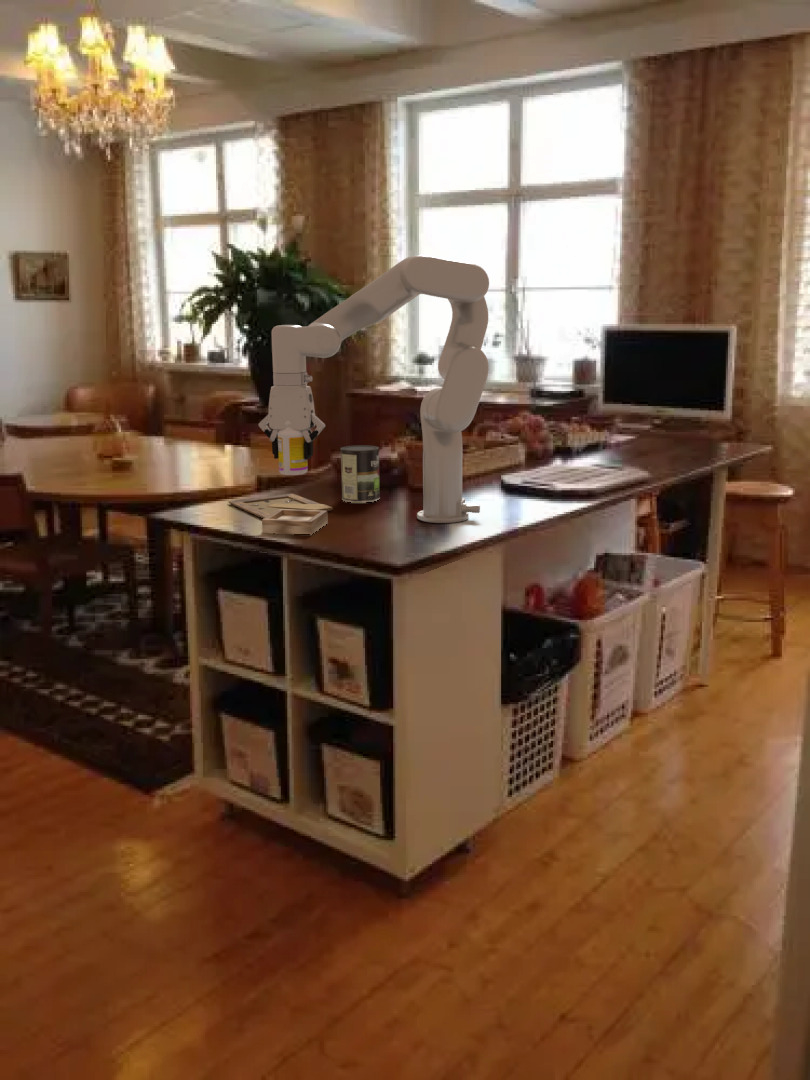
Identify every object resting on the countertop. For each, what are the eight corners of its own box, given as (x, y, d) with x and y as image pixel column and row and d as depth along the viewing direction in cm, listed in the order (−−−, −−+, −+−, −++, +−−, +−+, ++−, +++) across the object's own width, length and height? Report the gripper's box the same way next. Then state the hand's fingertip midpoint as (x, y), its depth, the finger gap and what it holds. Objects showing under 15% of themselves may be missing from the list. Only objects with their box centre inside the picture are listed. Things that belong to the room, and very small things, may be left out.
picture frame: (332, 514, 248) (292, 498, 267) (332, 507, 247) (292, 492, 267) (265, 523, 238) (228, 506, 258) (264, 516, 238) (228, 500, 257)
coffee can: (383, 496, 265) (383, 445, 262) (375, 504, 256) (374, 451, 252) (347, 495, 267) (345, 444, 264) (337, 503, 258) (335, 450, 254)
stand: (327, 523, 234) (327, 510, 233) (311, 535, 223) (311, 521, 222) (280, 521, 237) (280, 508, 236) (262, 533, 226) (261, 519, 225)
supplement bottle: (313, 471, 228) (311, 417, 225) (298, 476, 222) (296, 420, 219) (288, 470, 231) (286, 415, 228) (273, 474, 225) (271, 419, 222)
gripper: (331, 379, 223) (333, 456, 227) (260, 378, 227) (263, 454, 231) (321, 382, 216) (323, 462, 220) (248, 381, 220) (251, 459, 224)
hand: (292, 457), depth 226 cm, fingers closed on supplement bottle, 6 cm apart
